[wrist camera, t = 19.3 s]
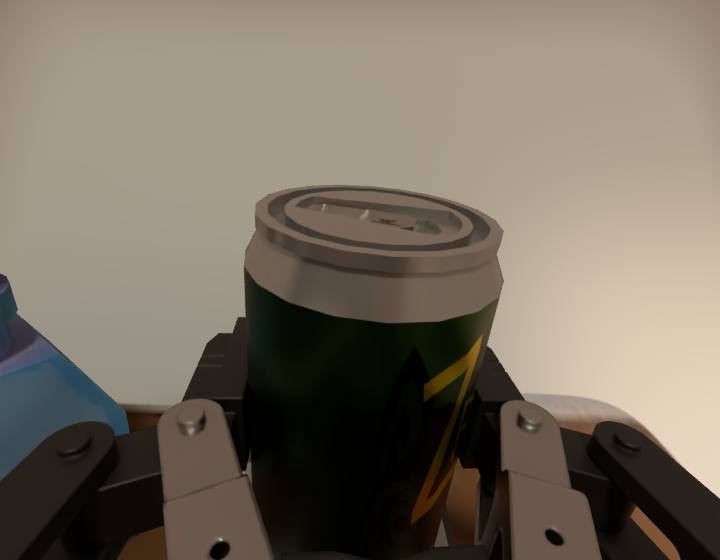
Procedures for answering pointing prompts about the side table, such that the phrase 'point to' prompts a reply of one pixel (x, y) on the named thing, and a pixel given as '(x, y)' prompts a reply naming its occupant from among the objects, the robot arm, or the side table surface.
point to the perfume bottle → (41, 389)
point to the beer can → (363, 362)
